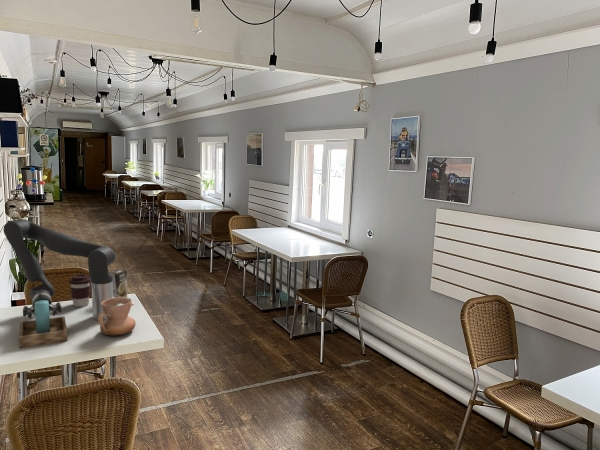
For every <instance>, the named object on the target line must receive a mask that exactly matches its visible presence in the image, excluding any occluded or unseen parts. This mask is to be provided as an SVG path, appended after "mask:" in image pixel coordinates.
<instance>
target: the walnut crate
mask: <svg viewBox="0 0 600 450" xmlns="http://www.w3.org/2000/svg"><path fill="white" fill-rule="evenodd" d="M67 328H68V327H67V324H66V316H57V317H55V316H54V317H50V332H47V333H41V334H36V320H35V319H34V320H26V321H20V324H19V331H18V332H19V333H18V343H19V349H22V348H30V347H36V346H43V345H48V344H49V345H51V344H56V343H63V342H67V341H68V330H67Z"/></svg>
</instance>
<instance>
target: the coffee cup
mask: <svg viewBox="0 0 600 450" xmlns="http://www.w3.org/2000/svg"><path fill="white" fill-rule="evenodd" d="M90 283H91V278H90V276H89V275H88V274H85V273H84V274H82V273H80V274H75V275H72V277H71V278H69V280H68V284H70V292H71V299H72V305H73V306H74V307H76V308H77V307H80V308H81V307H86V306H88V305H89V304H90V295H91V294H90V293H91V292H90V291H91V284H90Z"/></svg>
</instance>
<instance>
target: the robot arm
mask: <svg viewBox="0 0 600 450" xmlns="http://www.w3.org/2000/svg"><path fill="white" fill-rule="evenodd" d="M3 233H4V236H5V237H6V240H7V242H8V243H9V244H10V246H11V248H12V250H13V251H14V253H15V255H16V256H17V257H18V260H19V262H20V264H21V266H22V268H23V270H24V273H25V276H26V278H27V280H28V282H30V283H35V282H40V283H42V284H38V285H36V286H33V287H32V288H30V290H29V291H28V296H29V298H30V299H31V301H32V303H31V304H32V306H31V307H28V306H27V305H24V306H23V308H22V316H23V317H27V318H28V319H29V320H31V319H33V317H32V316H35V304H34V303H35V302H37V301H41V300H47V301H49V314H52V315H53V317H55V316H56V315H57V313H58V312H59V313H60V312H62V305H61V303H60V301H59V302H56V303H55V304H53V302H52V301H53V300H52V297H54V295H55V293H56V292H55V288H54V286H53V285H52V284H51V282H50V281H49V280H48V279H47V277H46V275H45V274H44V273H45V272H44V271H43V268H42V265H41V264H40V261H39V259H38V258H37V257H36V256H35V254H34V253H32V252H31V251H30V249H29V248H28V246H27V245H26V242H25V240H24V239H28V240H29V239H30V240H33V241H36V242H38V243H41V244H42V245H43V246H44V247H45V248H46V249H48V250H49V251H52V252H55V253H58V254H60V255H65V256H70V257H71V256H75V257H84V258H87V264H88V265H87V267H88V277H90V278H91V282H90V283H91V284H90V287H91V305H92V306H91V307H92V318H93V320H97V321H98V316H99V315H100V314H101V313H103V312H104V311H103V309H102V305H101V303H102V302H103V301H105V300H107V299H110V298H114V297H113V277H112V275H111V274H109V273H108V272H109V268H108V267H109V266H110V265H112V264H113V263H114V262H115V260H116V254H115V251H114V250H113V249H112V248H111V247H108V246H105V245H100V244H95V243H91V242H88V241H85V240H83V239H79V238H78V237H77V238H76V237H75V236H71V235H69V234H66V233H63V232H59V231H56V230H52V229H50V228H46V227H44V226H41V225H39V224H36V223H35V222H32V221H30V220H28V219H24V218H19V219H14V220H10V221H9V220H8V222H6V223H5V224H4V225H3ZM106 319H107V317H106V316H104V317H103V321H105V320H106Z"/></svg>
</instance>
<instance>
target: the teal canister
mask: <svg viewBox="0 0 600 450" xmlns="http://www.w3.org/2000/svg"><path fill="white" fill-rule="evenodd" d="M34 304H35V315H34V318H35V319H34V320H36V334H41V333H47V332H50V318H51V315H50V313H49V301H47V300H41V301H37V302H35V303H34Z"/></svg>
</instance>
